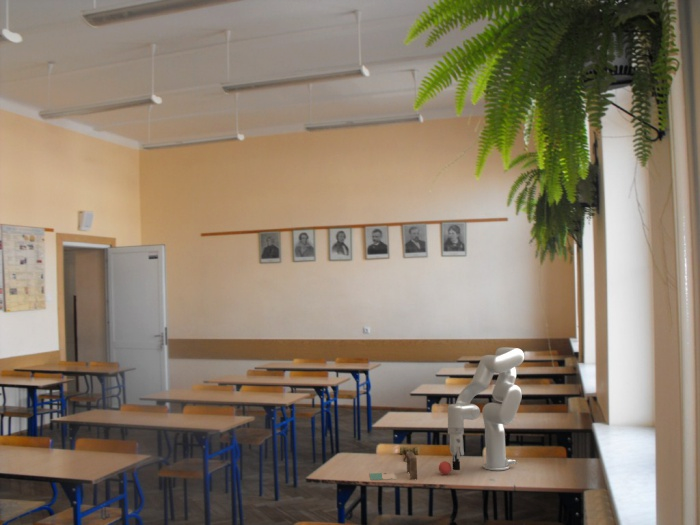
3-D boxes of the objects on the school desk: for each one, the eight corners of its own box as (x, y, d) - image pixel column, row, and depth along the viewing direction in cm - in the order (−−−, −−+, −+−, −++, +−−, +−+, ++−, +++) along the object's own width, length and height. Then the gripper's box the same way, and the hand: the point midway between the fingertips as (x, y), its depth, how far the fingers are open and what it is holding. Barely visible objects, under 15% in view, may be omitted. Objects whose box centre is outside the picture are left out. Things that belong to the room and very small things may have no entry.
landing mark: (394, 473, 318) (394, 472, 318) (396, 479, 306) (396, 478, 307) (369, 473, 318) (369, 473, 318) (371, 480, 306) (371, 479, 306)
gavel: (415, 456, 340) (396, 456, 342) (415, 465, 340) (396, 465, 342) (418, 445, 361) (400, 445, 363) (419, 453, 361) (400, 453, 363)
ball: (450, 472, 316) (449, 459, 317) (452, 475, 310) (452, 462, 311) (438, 473, 316) (437, 460, 317) (440, 476, 310) (439, 463, 311)
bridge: (413, 471, 320) (412, 451, 321) (417, 479, 305) (416, 458, 306) (407, 471, 320) (406, 451, 321) (410, 479, 305) (410, 458, 306)
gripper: (467, 433, 308) (467, 473, 306) (460, 428, 322) (460, 466, 321) (451, 433, 307) (451, 473, 306) (445, 428, 322) (445, 466, 320)
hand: (456, 469), depth 313 cm, fingers closed
